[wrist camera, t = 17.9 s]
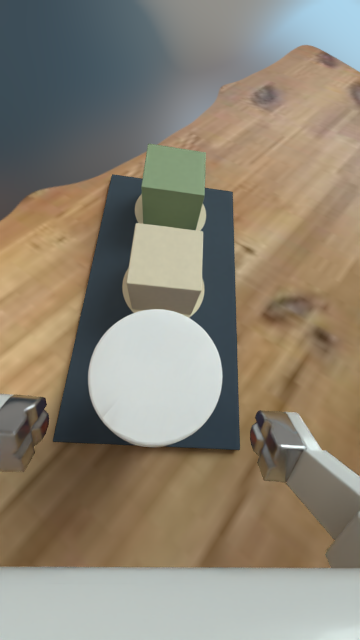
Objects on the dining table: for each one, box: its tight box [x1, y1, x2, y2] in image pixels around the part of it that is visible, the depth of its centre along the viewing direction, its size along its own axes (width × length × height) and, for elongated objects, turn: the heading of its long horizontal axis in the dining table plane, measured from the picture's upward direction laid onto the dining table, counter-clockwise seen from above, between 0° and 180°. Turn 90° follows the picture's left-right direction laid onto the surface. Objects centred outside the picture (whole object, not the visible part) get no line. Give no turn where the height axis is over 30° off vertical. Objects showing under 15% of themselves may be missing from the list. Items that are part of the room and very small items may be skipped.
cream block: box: [126, 223, 203, 315], centre depth 18 cm, size 5×5×4 cm
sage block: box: [141, 144, 206, 230], centre depth 21 cm, size 5×5×4 cm
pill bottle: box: [88, 309, 223, 447], centre depth 12 cm, size 6×6×10 cm
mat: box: [53, 174, 240, 450], centre depth 20 cm, size 25×13×1 cm, turn 176°
